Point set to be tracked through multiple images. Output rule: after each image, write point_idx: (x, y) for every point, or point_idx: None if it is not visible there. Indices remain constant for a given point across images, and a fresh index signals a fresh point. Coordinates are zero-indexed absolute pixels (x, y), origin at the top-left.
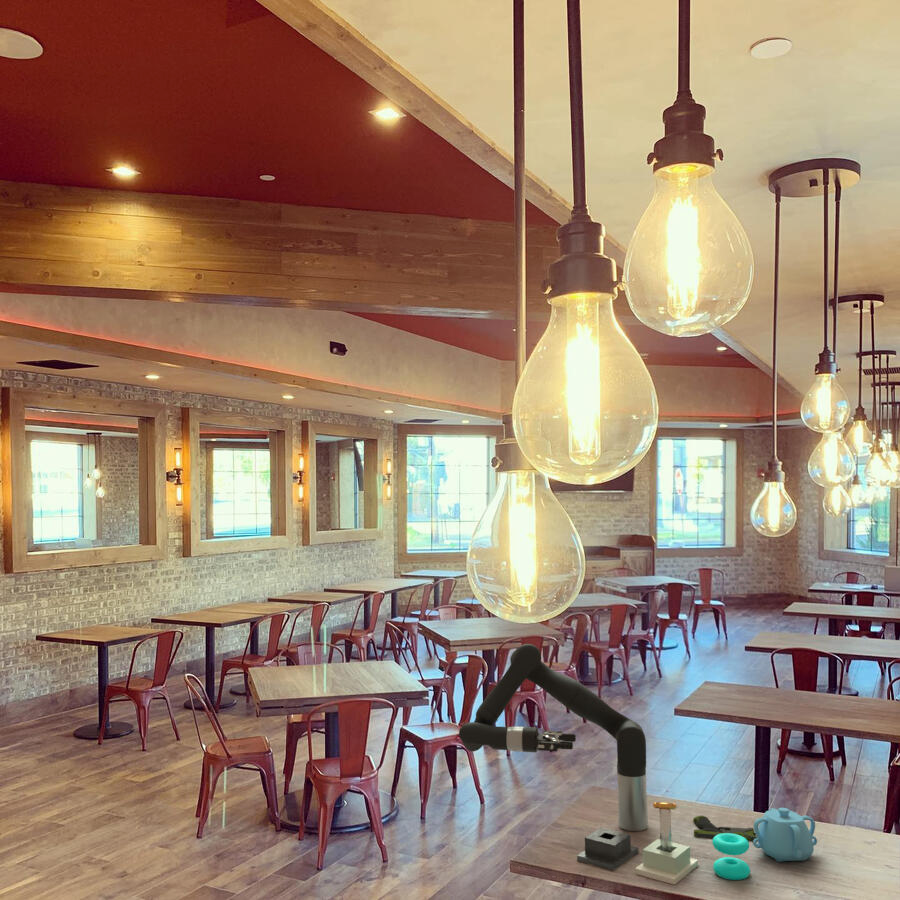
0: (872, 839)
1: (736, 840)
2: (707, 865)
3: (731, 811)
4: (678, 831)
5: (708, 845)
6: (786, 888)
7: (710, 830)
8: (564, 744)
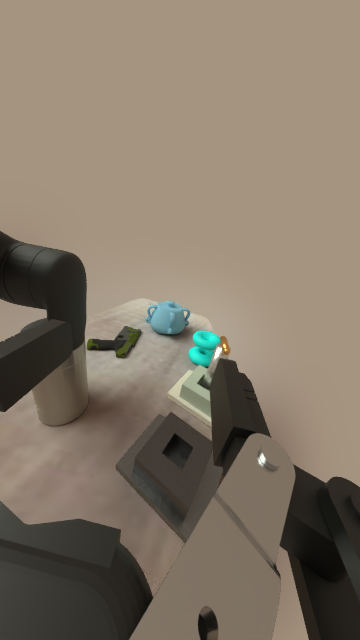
0: (147, 302)
1: (204, 335)
2: (187, 367)
3: None
4: (104, 365)
5: (145, 355)
6: None
7: (122, 345)
8: (257, 411)
